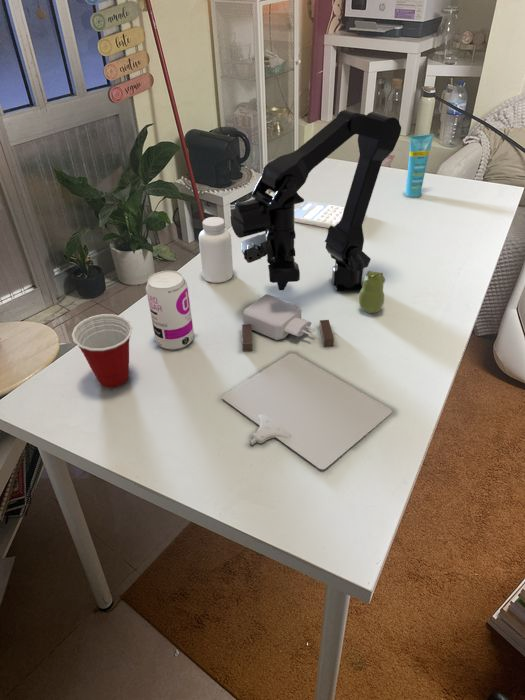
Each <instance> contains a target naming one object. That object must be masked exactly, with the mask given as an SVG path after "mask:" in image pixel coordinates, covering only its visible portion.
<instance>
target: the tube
mask: <svg viewBox="0 0 525 700" xmlns="http://www.w3.org/2000/svg"><path fill="white" fill-rule="evenodd" d="M434 135H435V134H434V133H429V134H422V135H410V137H409V153H408V154H409V155H408V163H407V164H408V166H407V173H406V174H407V175H406V183H405V193H404V195H405V196H406V197H408V198H419V197H420V196H421V194H422V188H423V183H424V178H425V174H426V169H427V166H428V165H427V164H428V160H429V157H430V152H431V148H432V143H433V139H434Z"/></svg>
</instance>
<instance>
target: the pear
mask: <svg viewBox="0 0 525 700" xmlns="http://www.w3.org/2000/svg"><path fill="white" fill-rule="evenodd" d="M385 281H386V278H385V276H384V273H383V272H379V271H372V270H368V271H367V273H366V274H365V275H364V277H363V280H362V286H363V287H362V289H361V291H359V294H358V304H359V307H360V308H361V310H362V311H364V312H365V313H368V314H374V313H378V312H379V311H380V310H381V309H382V307H383V305H384V302H385V293H384V285H385Z"/></svg>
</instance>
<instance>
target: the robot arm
mask: <svg viewBox="0 0 525 700" xmlns="http://www.w3.org/2000/svg"><path fill="white" fill-rule="evenodd" d="M401 132H402V125H401V123H400V120H399V119H397V118H396V117H393V116H391V115H388V114H385V113H381V112H378V111H371V112H369V113H367V114H364V113H360V112H357V111H353V110H350V109H342V110H341V111H339V112H338V113H337V115H336V117H335V118H334V119H332V120H331V121H330V122H329V123H328V124H326V125H325V126H324V127H323V128H321V129H320V130H319V131H318V132H317V133H315V134H314V135H313V136H312V137H311V138H310V139H308V140H307V141H306V142H304V143H303V144H302V145H301V146H300V147H298V148H297V149H296V150H293V152H290V153H287V154H282V155H280V156H278V157H277V158H274V159H273V160H271V161H269V162H268V163H267V164H266V165H264V167H263V168H262V173H261V176H260V178H259V180H258V182H257V184H256V185H255V187H254V189H253V191H252V192H251V197H252V198H253V199H250V200H246V201H239V202H235V203H234V208H233V209H232V210H231V215H230V225H231V228H232V231H233V232H234V234H235V235H236V237H237V238H239V239H241V238H245V237H248V236H252V237H250V238H247V239H245V240H243V241H241V243H240V247H241V248H240V249H241V253H242V255H243V259H244V260H245V261H246V263H248V264H250V263H253V262H256V261H259V260H261V259H262V258H264V257H265V256H266V261H267V270H268V278H269V282H270V283H272V284H277V287H278V291H281V292H282V291H285V289H286V287H287V285H288V283H295V282H297V283H298V282H299V281H300V280H301V279H300V278H301V272H300V267H299V264H298V262H296V261H295V257H296V250H295V239H296V230H295V222H294V211H295V205H297V204H301V203H305V199H304V198H303V197H302V196H300V195H299V193H298V192H299V190H300V189H301V188H302V187H303V186H304V185H305V184H306V182H307V179H308V178H309V174H310V173H311V172H312V171H313V170H314V169H315V168H316V167H317V166H318V165H320V164H321V163H322V162H323V161H324V160H325V159H327V158H328V157H330V155H332V154H333V153H334V152H335V151H336V150H338V149H339V148H340V147H341V146H343V145H344V144H345V143H346V142H347V141H348V140H350V139H351V138H352V137H353V136H354V135H357V145H358V152H359V157H358V161H357V165H356V168H355V170H354V171H355V172H354V175H353V177H352V180H351V181H352V182H351V185H350V187H349V191H348V195H347V198H346V201H345V205H344V212H343V215H342V218H341V220H340V221H339V222H338V223H337V224H336V225H335V226H330V227H329V228H327V229H328V230H327V235H326V237H325V238H324V242H325V249H326V252H327V253H328V254H329V255H330V258H331V259H332V260H334V261H335V262H334V265H333V266H332V273H331V282H332V285H333V286H334V289H335V292H338V293H340V292H341V293H342V292H356V291H357V292H360V291H361V289H362V287H363V275H364V274H363V273H364V270H365V268H368V267H369V265H370V263H371V257H369V255H368V254H366V253H365V252H364V251H363V249H364V243H365V236H364V229H363V224H364V221H365V217H366V214H367V211H368V208H369V205H370V202H371V199H372V196H373V192H374V189H375V186H376V183H377V179H378V177H379V174H380V170H381V167H382V164H383V161H385V159H387V158H388V156H390V154H392V153H393V151H394V150H395V147H396V145H397V143H398V141H399V138H400V136H401ZM267 191H270V192H272V193H273V194H274V196H272V195H271V194H269V193H267ZM264 232H265V233H264ZM260 233H261V234H260ZM256 234H257V235H256ZM253 235H255V236H253Z"/></svg>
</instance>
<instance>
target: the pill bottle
mask: <svg viewBox="0 0 525 700" xmlns="http://www.w3.org/2000/svg"><path fill="white" fill-rule="evenodd" d="M198 243H199V244H198V246H199V256H200V266H201V275H202V278H203V279H204V280H205V281H207V282H208V283H218V284H219V283H224V282H228V281H229V280H231V278H233V276H234V262H233V247H232V246H233V245H232V234H231V232H230V231H229V230H228V229H227V228H226V221H225V219H224V218H222V217H220V216H210V217H207V218H204V219H203V221H202V230H201V231H200V232H199V234H198Z"/></svg>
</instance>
